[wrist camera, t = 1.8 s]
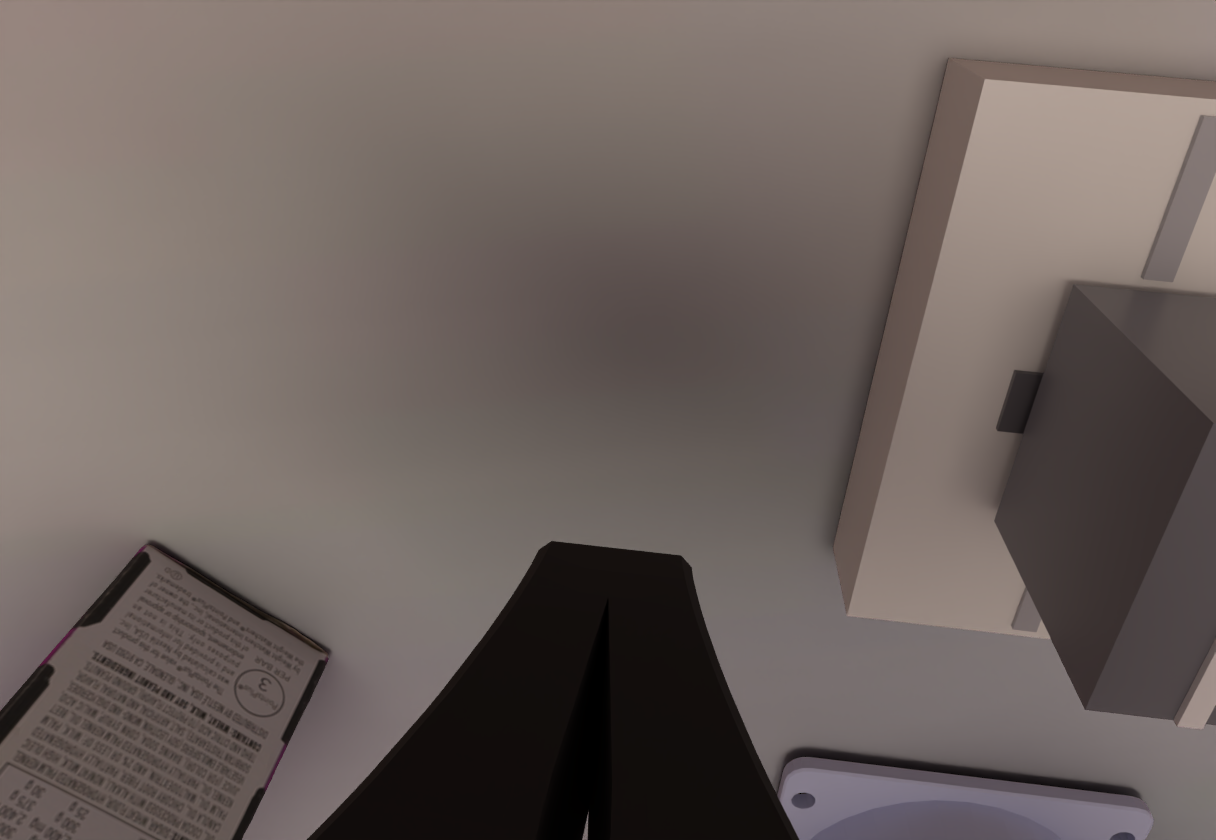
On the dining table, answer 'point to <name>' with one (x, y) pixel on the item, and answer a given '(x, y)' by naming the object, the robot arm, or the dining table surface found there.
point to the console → (1009, 313)
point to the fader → (1124, 502)
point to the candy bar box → (154, 714)
